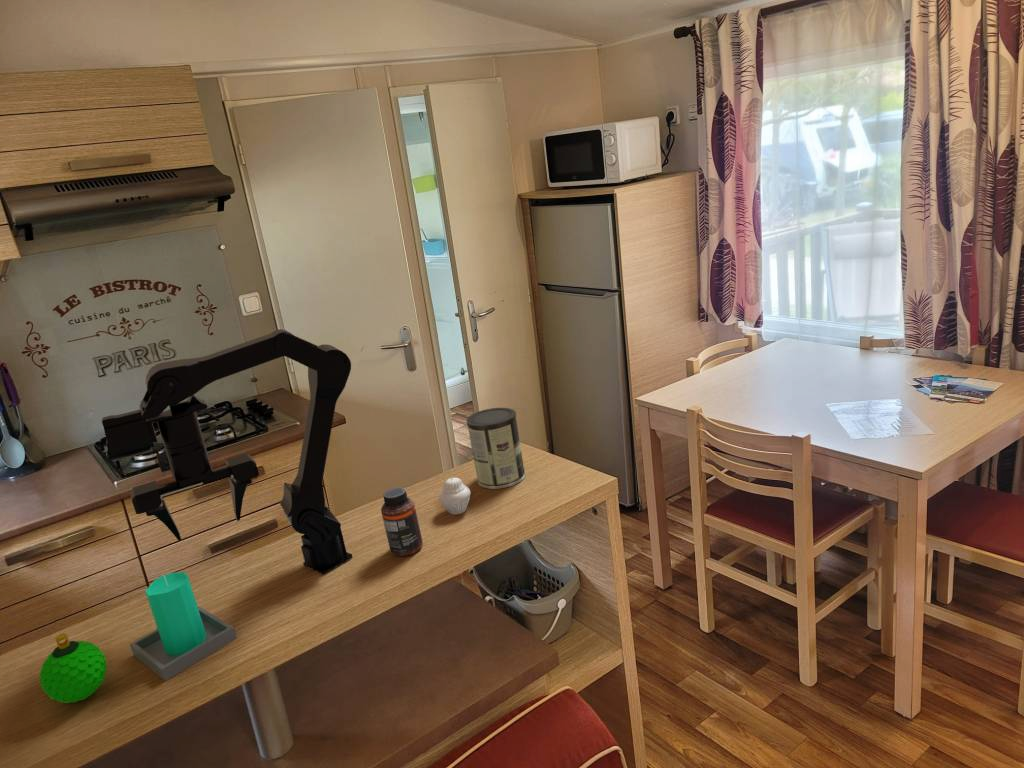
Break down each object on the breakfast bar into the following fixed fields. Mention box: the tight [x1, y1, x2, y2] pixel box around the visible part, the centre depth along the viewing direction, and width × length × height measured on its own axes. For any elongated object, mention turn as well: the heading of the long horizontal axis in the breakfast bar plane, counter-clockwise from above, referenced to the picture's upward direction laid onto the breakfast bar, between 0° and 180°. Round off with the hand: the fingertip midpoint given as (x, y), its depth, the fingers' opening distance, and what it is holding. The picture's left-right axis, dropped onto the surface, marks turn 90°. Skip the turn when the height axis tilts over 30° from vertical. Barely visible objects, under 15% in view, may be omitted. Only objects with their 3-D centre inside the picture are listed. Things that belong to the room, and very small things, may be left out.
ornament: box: [39, 632, 108, 704], centre depth 104 cm, size 8×8×10 cm
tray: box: [129, 605, 237, 682], centre depth 114 cm, size 11×11×2 cm
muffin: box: [438, 477, 471, 516], centre depth 144 cm, size 6×6×7 cm
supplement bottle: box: [380, 486, 424, 557], centre depth 132 cm, size 6×6×11 cm
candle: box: [145, 571, 206, 655], centre depth 112 cm, size 6×6×12 cm
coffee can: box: [465, 407, 526, 490], centre depth 155 cm, size 10×10×14 cm
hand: (209, 529), depth 122 cm, fingers open, 9 cm apart
